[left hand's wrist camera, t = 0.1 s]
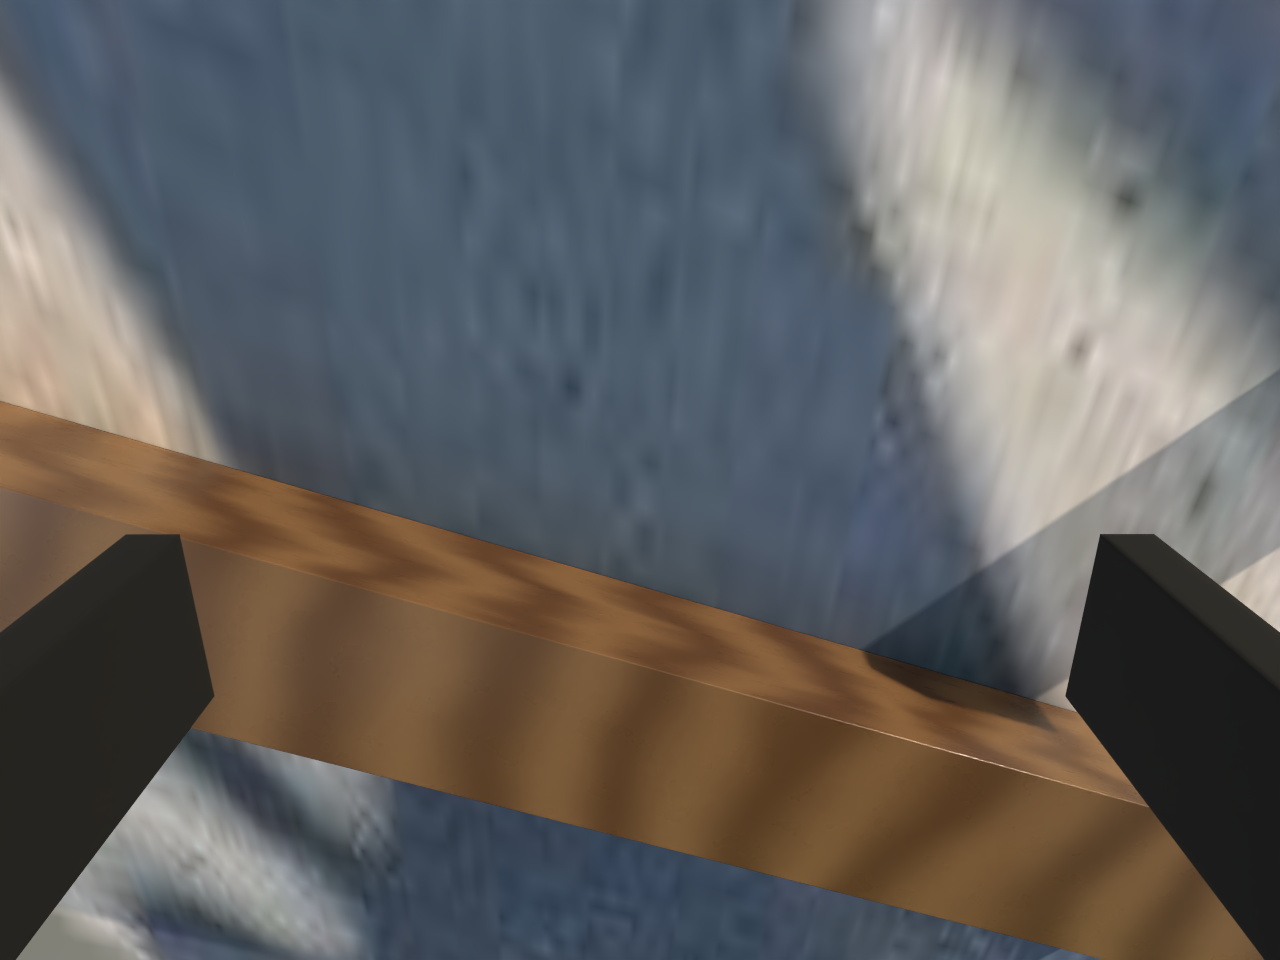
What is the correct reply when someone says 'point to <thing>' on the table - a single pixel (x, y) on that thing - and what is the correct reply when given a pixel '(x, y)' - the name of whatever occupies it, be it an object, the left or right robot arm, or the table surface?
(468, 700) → the wide beam
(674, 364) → the table surface
